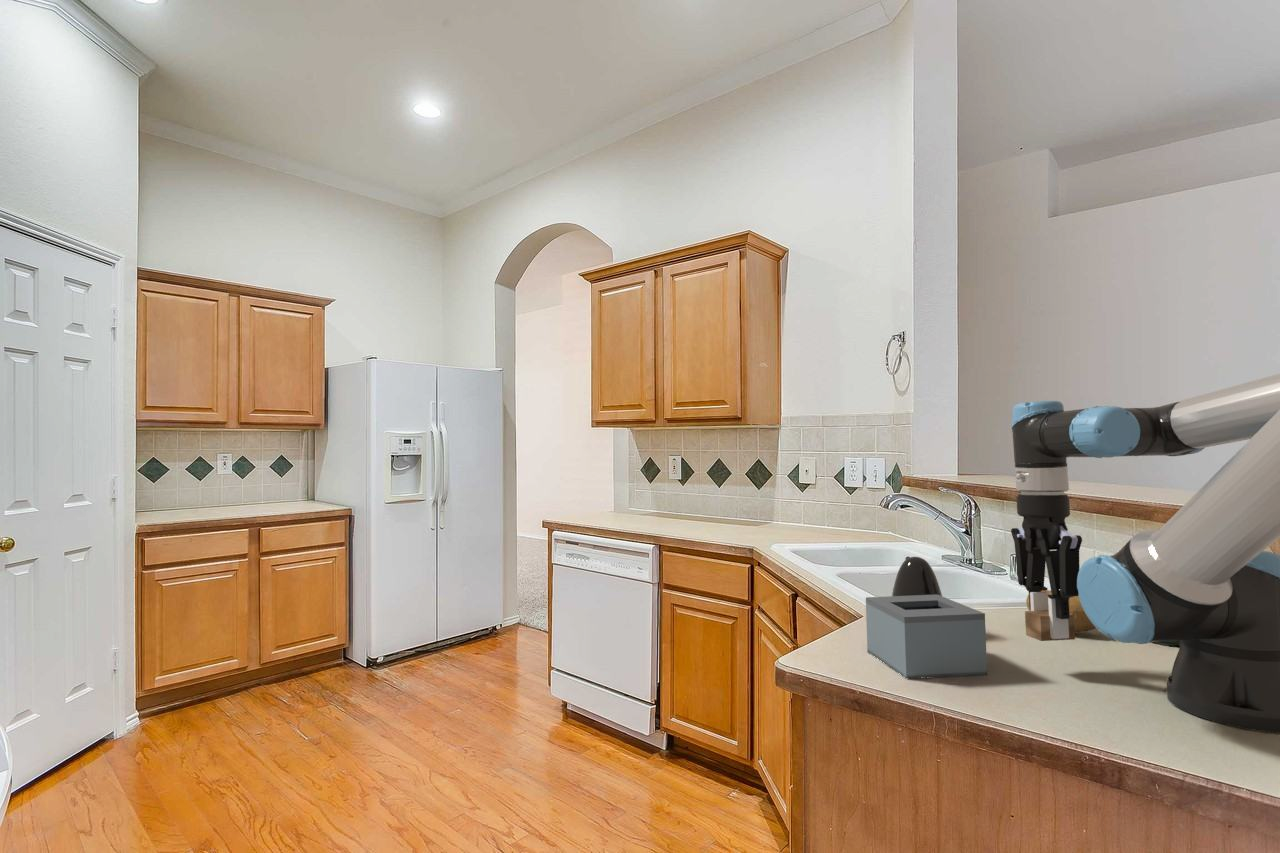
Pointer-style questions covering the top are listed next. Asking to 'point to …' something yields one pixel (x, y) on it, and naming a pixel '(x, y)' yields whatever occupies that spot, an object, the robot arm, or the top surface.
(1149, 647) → the top surface
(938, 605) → the box
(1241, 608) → the robot arm
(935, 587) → the black dome cover
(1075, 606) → the potato
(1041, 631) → the block
